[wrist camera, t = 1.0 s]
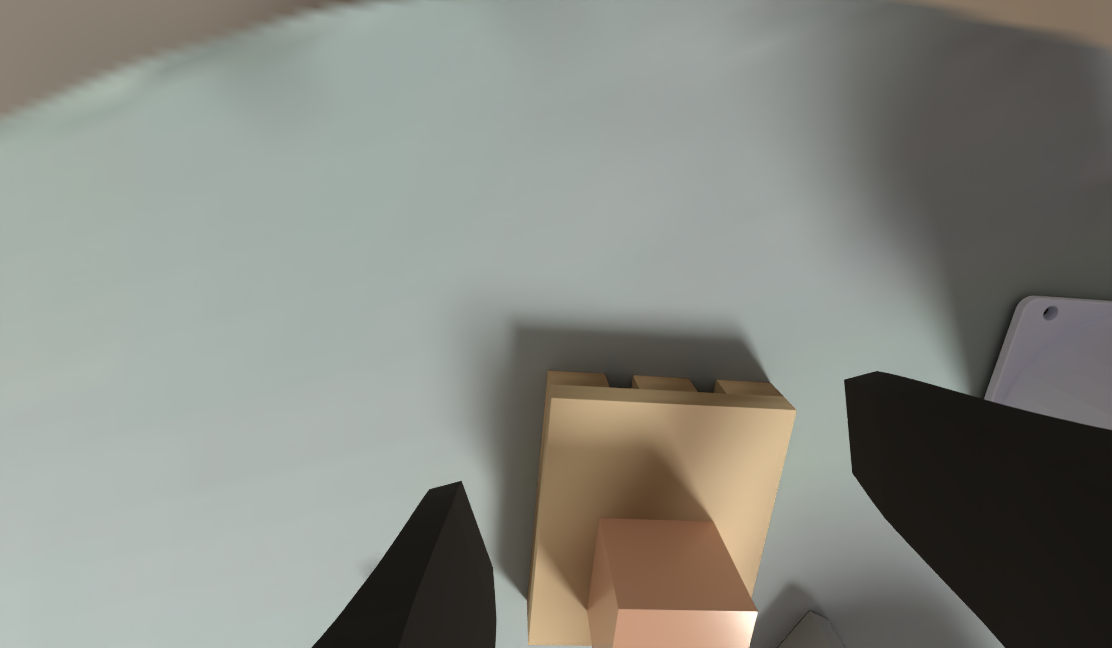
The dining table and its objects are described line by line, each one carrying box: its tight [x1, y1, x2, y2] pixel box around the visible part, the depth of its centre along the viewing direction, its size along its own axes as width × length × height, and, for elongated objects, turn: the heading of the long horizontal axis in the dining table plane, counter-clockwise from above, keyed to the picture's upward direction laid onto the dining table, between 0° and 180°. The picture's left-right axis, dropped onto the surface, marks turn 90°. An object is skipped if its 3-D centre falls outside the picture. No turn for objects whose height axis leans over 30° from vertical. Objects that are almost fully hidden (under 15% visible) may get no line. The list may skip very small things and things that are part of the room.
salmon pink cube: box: [587, 518, 758, 648], centre depth 19 cm, size 4×4×4 cm
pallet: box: [527, 371, 797, 646], centre depth 22 cm, size 8×10×2 cm
